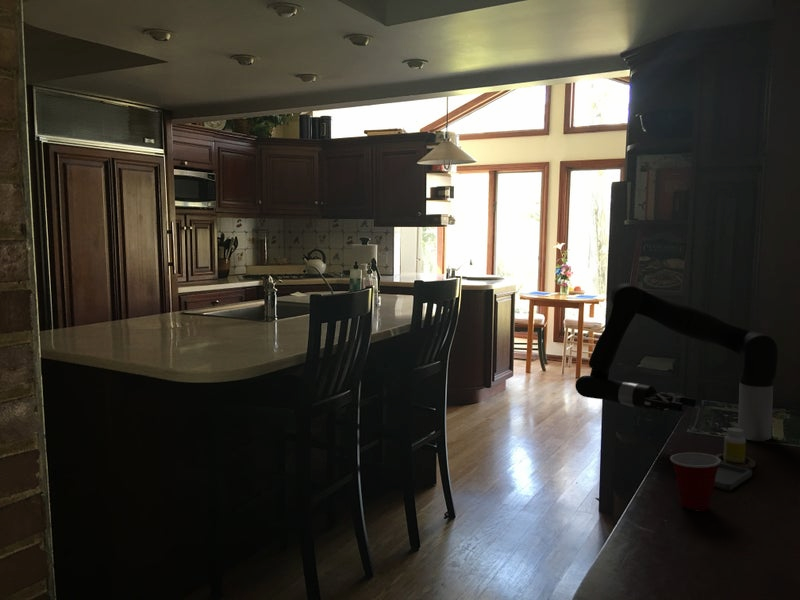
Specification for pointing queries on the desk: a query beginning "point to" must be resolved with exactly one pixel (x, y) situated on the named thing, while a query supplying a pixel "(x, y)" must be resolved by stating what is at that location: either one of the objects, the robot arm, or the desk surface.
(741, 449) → the supplement bottle
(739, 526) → the desk surface
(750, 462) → the ring collar
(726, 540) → the desk surface
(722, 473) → the tray
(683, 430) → the desk surface
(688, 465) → the plastic cup
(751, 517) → the desk surface
